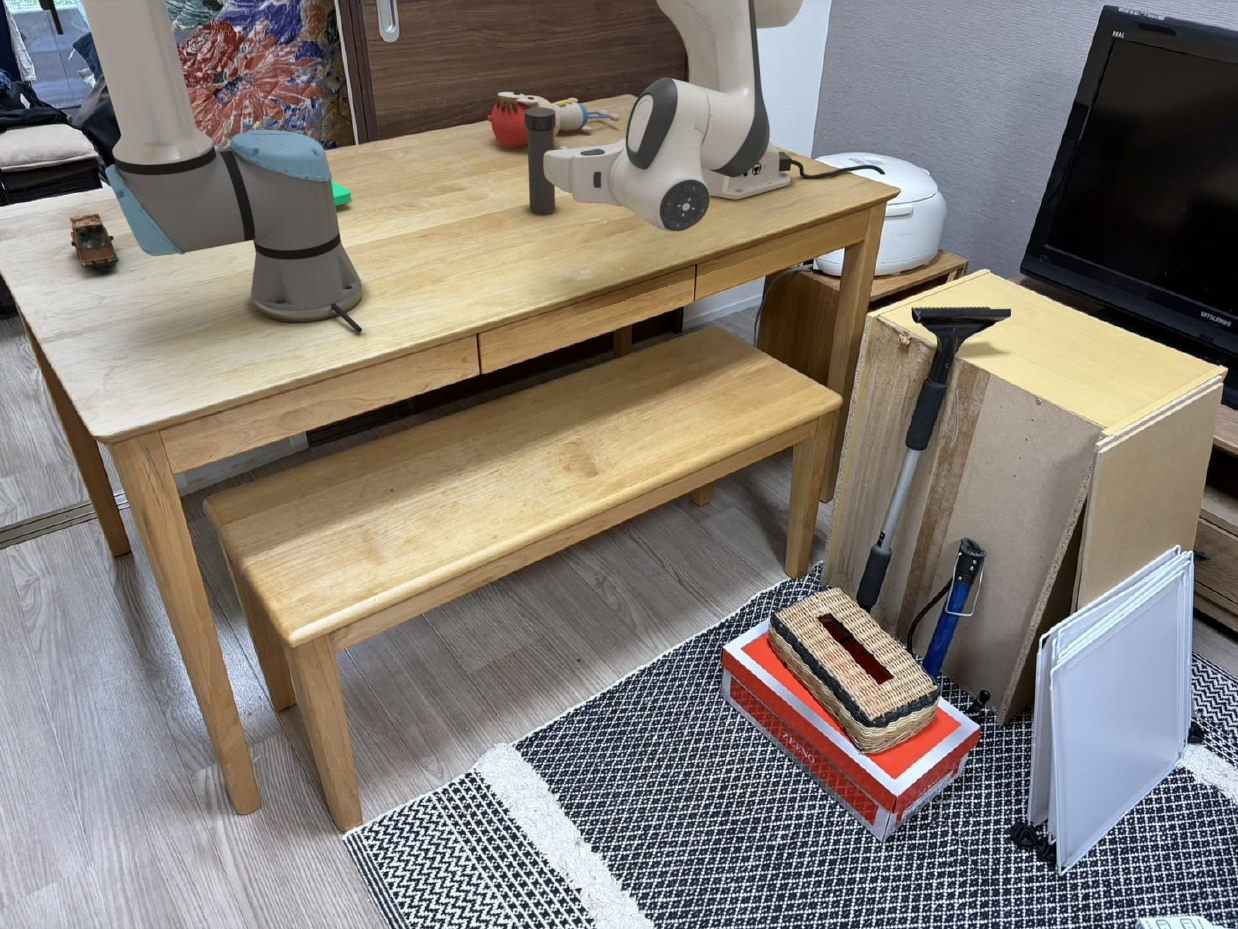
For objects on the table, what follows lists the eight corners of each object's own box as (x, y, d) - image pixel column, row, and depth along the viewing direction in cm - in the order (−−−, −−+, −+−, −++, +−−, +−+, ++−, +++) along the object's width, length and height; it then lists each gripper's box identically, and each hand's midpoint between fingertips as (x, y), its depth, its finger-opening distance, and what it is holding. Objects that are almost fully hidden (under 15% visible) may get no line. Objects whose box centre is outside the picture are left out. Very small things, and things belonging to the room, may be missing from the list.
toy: (638, 98, 193) (509, 99, 178) (634, 148, 198) (509, 154, 183) (593, 85, 207) (469, 85, 192) (590, 133, 211) (469, 136, 196)
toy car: (109, 242, 148) (95, 200, 144) (132, 268, 141) (118, 225, 137) (66, 252, 145) (51, 209, 141) (87, 279, 138) (72, 235, 133)
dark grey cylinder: (526, 206, 165) (523, 111, 155) (550, 203, 167) (548, 109, 157) (534, 215, 162) (531, 119, 152) (558, 212, 163) (556, 117, 153)
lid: (521, 122, 156) (520, 108, 155) (550, 119, 158) (549, 106, 157) (530, 131, 153) (529, 117, 151) (559, 128, 154) (559, 114, 153)
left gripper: (151, -134, 141) (187, 17, 154) (-38, -132, 131) (17, 30, 144) (159, -130, 136) (195, 26, 149) (-37, -127, 126) (20, 41, 138)
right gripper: (699, 142, 131) (655, 120, 141) (565, 157, 123) (529, 132, 134) (696, 187, 134) (654, 162, 144) (565, 204, 127) (531, 176, 137)
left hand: (108, 29), depth 146 cm, fingers open, 13 cm apart
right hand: (593, 148), depth 139 cm, fingers open, 8 cm apart
